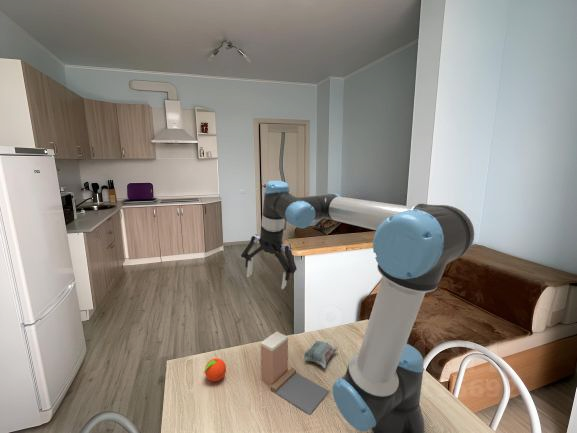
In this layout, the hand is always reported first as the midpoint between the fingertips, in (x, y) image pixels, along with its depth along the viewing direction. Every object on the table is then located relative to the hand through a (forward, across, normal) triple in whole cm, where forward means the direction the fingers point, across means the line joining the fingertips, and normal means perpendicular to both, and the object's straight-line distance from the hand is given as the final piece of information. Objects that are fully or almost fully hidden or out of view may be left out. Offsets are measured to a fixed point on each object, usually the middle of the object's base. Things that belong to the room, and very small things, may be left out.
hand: (266, 281), depth 106 cm
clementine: (+29, +6, +21) cm, 37 cm away
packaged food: (+26, -25, -1) cm, 36 cm away
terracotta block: (+26, -12, +13) cm, 32 cm away
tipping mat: (+24, -22, +16) cm, 37 cm away
